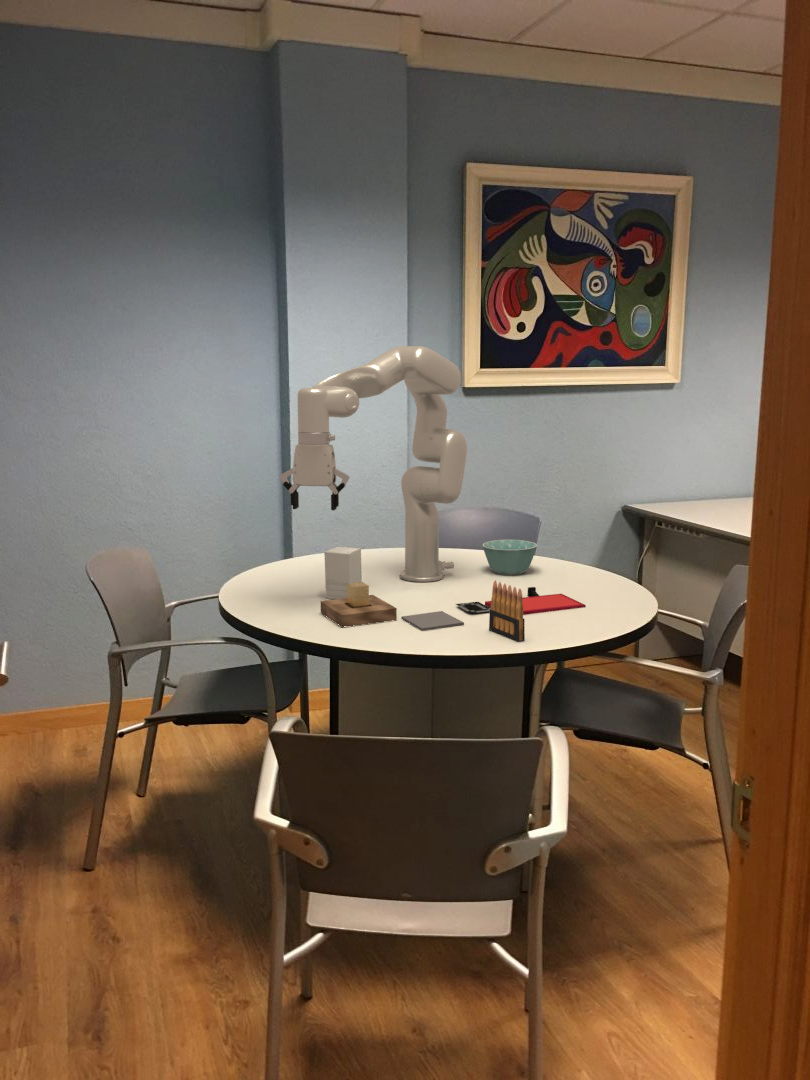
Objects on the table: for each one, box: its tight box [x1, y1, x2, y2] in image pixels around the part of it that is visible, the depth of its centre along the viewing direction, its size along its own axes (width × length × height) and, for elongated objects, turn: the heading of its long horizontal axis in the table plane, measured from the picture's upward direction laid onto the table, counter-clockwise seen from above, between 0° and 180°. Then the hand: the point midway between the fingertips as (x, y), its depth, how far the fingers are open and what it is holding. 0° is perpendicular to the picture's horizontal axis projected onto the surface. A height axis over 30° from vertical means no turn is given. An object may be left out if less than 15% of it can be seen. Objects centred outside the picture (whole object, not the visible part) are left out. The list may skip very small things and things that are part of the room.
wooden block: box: [347, 581, 370, 609], centre depth 223 cm, size 4×4×8 cm
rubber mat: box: [400, 610, 465, 632], centre depth 219 cm, size 11×11×1 cm
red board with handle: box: [455, 586, 587, 616], centre depth 233 cm, size 30×3×15 cm
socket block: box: [320, 594, 398, 628], centre depth 224 cm, size 14×14×3 cm
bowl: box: [481, 539, 538, 576], centre depth 269 cm, size 16×16×8 cm
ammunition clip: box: [488, 580, 525, 643], centre depth 207 cm, size 11×2×12 cm, turn 32°
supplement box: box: [323, 546, 363, 600], centre depth 241 cm, size 7×7×13 cm
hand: (314, 509), depth 227 cm, fingers open, 9 cm apart
